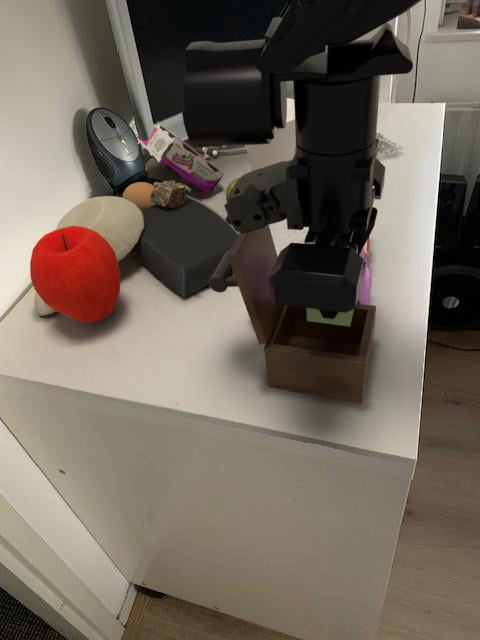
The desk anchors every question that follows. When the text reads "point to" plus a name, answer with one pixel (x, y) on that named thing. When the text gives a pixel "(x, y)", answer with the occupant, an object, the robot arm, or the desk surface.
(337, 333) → the chest
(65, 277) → the apple
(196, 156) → the candy bar box
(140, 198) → the egg
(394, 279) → the desk surface
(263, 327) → the lid
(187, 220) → the hard drive
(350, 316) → the block
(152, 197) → the rock
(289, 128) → the cup
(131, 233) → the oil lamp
